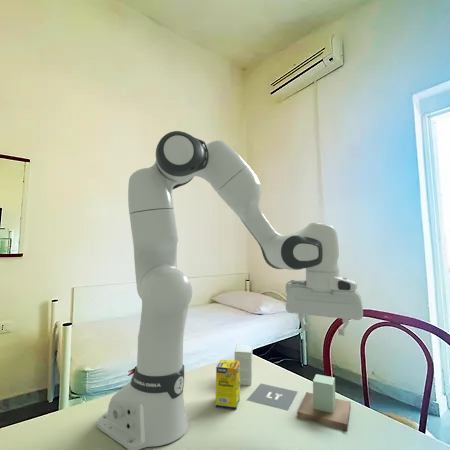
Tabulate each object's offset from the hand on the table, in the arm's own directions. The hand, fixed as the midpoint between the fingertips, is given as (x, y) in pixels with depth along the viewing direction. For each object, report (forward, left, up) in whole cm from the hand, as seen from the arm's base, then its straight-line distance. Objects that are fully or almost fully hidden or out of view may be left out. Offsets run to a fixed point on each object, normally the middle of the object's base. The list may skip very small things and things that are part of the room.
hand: (323, 332), depth 81 cm
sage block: (0, 0, -19) cm, 19 cm away
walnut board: (0, 0, -21) cm, 21 cm away
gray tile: (-15, +2, -21) cm, 26 cm away
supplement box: (-25, -8, -21) cm, 34 cm away
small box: (-27, +8, -21) cm, 35 cm away
